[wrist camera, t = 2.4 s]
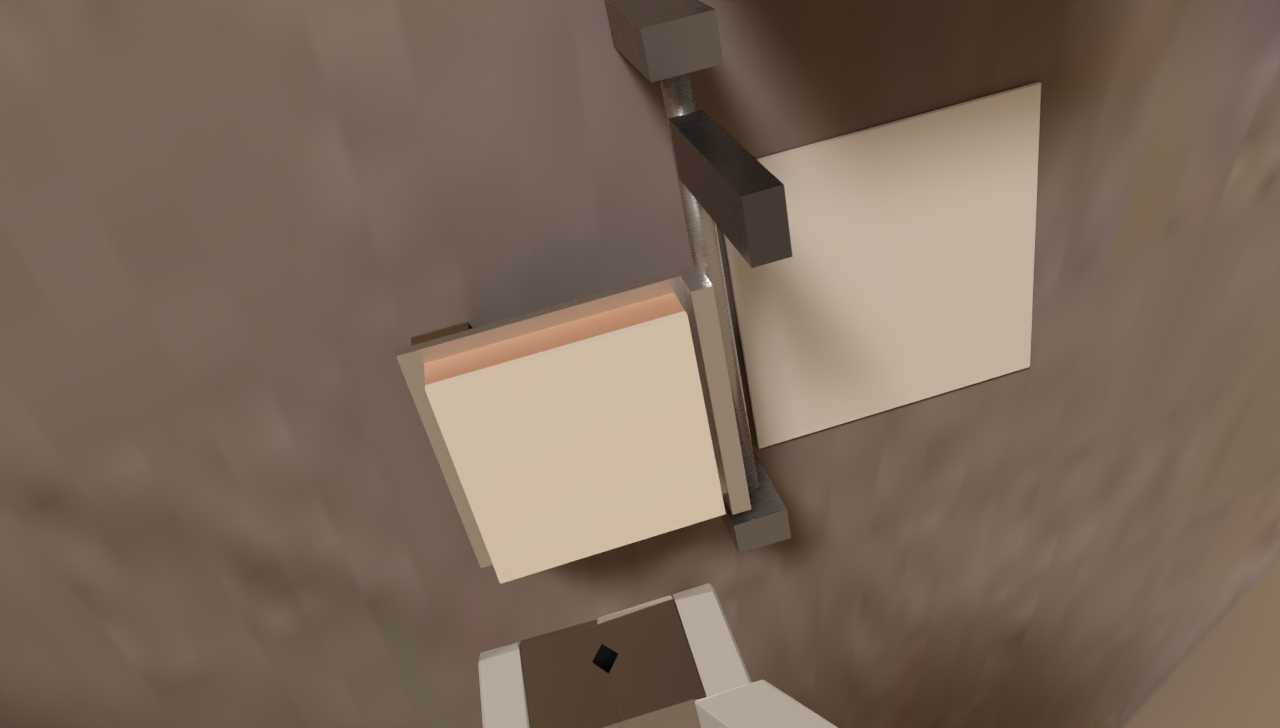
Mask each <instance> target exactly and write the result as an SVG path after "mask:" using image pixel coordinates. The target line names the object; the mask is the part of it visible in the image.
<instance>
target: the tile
mask: <svg viewBox="0 0 1280 728" xmlns="http://www.w3.org/2000/svg"><path fill="white" fill-rule="evenodd" d="M424 374H425V391H426V394H427V397H428V399H429V402H430V404H431V407H432V409H433V412H434V415H435V417H436V420H437V422H438V425H439V427H440V430H441V433H442V435H443V438H444V440H445V443H446V445H447V448H448V450H449V453H450V456H451V458H452V461H453V463H454V466H455V468H456V471H457V474H458V476H459V479H460V481H461V484H462V486H463V489H464V492H465V494H466V497H467V499H468V502H469V504H470V507H471V510H472V512H473V515H474V517H475V520H476V522H477V525H478V528H479V530H480V533H481V535H482V538H483V540H484V543H485V546H486V548H487V551H488V553H489V556H490V558H491V561H492V564H493V566H494V569H495V571H496V574H497V576H498V579H499V582H500V584H501V583H504V582H507V581H511V580H514V579H517V578H520V577H524V576H527V575H530V574H533V573H537V572H540V571H543V570H546V569H550V568H553V567H556V566H559V565H563V564H566V563H569V562H572V561H575V560H579V559H582V558H585V557H588V556H592V555H595V554H598V553H601V552H605V551H608V550H611V549H614V548H618V547H621V546H624V545H627V544H631V543H634V542H637V541H640V540H644V539H647V538H650V537H653V536H657V535H660V534H663V533H666V532H670V531H673V530H676V529H679V528H682V527H686V526H689V525H692V524H695V523H699V522H702V521H705V520H708V519H712V518H715V517H718V516H721V515H725V514H726V512H725V507H724V502H723V497H722V491H721V486H720V481H719V476H718V471H717V465H716V460H715V455H714V450H713V445H712V439H711V434H710V429H709V424H708V419H707V413H706V408H705V403H704V398H703V393H702V387H701V382H700V377H699V372H698V367H697V361H696V356H695V351H694V346H693V341H692V335H691V330H690V325H689V320H688V315H687V313H686V312H685V310H684V308H683V307H682V305H681V303H680V302H679V300H678V298H677V297H676V295H675V293H671V294H667V295H664V296H660V297H657V298H653V299H650V300H646V301H642V302H639V303H635V304H632V305H628V306H625V307H621V308H618V309H614V310H611V311H607V312H604V313H600V314H597V315H593V316H590V317H586V318H583V319H579V320H576V321H572V322H569V323H565V324H562V325H558V326H555V327H551V328H548V329H544V330H541V331H537V332H534V333H530V334H527V335H523V336H519V337H516V338H512V339H509V340H505V341H502V342H498V343H495V344H491V345H488V346H484V347H481V348H477V349H474V350H470V351H467V352H463V353H460V354H456V355H453V356H449V357H446V358H442V359H439V360H435V361H432V362H428V363H425V364H424Z"/></svg>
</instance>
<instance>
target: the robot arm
mask: <svg viewBox="0 0 1280 728" xmlns="http://www.w3.org/2000/svg"><path fill="white" fill-rule="evenodd" d="M478 667H479V680H480V693H481V707H482V720H483V728H838V727H836V726H835V725H833V724H832V723H830V722H829V721H827V720H826V719H824V718H822V717H821V716H819V715H818V714H816V713H815V712H813V711H812V710H810V709H809V708H807V707H805V706H804V705H802V704H801V703H799V702H798V701H796V700H795V699H793V698H792V697H790V696H788V695H787V694H785V693H784V692H782V691H781V690H779V689H778V688H776V687H774V686H773V685H771V684H770V683H768V682H767V681H765V680H764V679H763V680H759V681H756V682H751V679H750V677H749V674H748V672H747V669H746V667H745V664H744V662H743V659H742V657H741V654H740V652H739V649H738V647H737V644H736V642H735V639H734V637H733V634H732V632H731V629H730V627H729V624H728V622H727V619H726V617H725V614H724V612H723V609H722V607H721V604H720V602H719V599H718V597H717V594H716V592H715V589H714V588H713V587H712V586H711V585H710V584H709V583H708V584H705V585H702V586H698V587H695V588H692V589H689V590H686V591H683V592H679V593H676V594H673V595H672V597H671V595H669V596H666V597H663V598H660V599H657V600H654V601H651V602H647V603H644V604H641V605H638V606H635V607H632V608H629V609H625V610H622V611H619V612H616V613H613V614H610V615H607V616H603V617H600V618H597V620H593V621H590V622H586V623H582V624H579V625H575V626H572V627H568V628H565V629H561V630H557V631H554V632H550V633H547V634H543V635H540V636H536V637H532V638H529V639H525V640H522V641H520V642H517V643H514V644H510V645H507V646H503V647H499V648H496V649H492V650H489V651H485V652H482V653H480V658H479V664H478Z"/></svg>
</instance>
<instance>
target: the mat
mask: <svg viewBox="0 0 1280 728" xmlns="http://www.w3.org/2000/svg"><path fill="white" fill-rule="evenodd" d="M1040 101H1041V83H1039V82H1036V83H1033V84H1029V85H1025V86H1022V87H1018V88H1014V89H1011V90H1007V91H1003V92H1000V93H996V94H992V95H989V96H985V97H981V98H978V99H974V100H970V101H967V102H963V103H959V104H956V105H952V106H948V107H945V108H941V109H937V110H934V111H930V112H927V113H923V114H919V115H916V116H912V117H908V118H905V119H901V120H897V121H894V122H890V123H886V124H883V125H879V126H875V127H872V128H868V129H864V130H861V131H857V132H853V133H850V134H846V135H842V136H839V137H835V138H831V139H828V140H824V141H820V142H817V143H813V144H809V145H806V146H802V147H798V148H795V149H791V150H787V151H784V152H780V153H776V154H773V155H769V156H766V157H762V158H758V159H756V160H758V161H759V162H760V163H761V164H762V165H763V166H764V167H765V168H766V169H767V170H769V171H770V172H771V173H772V174H773V175H774V176H775V177H776V178H777V179H778V180H780V181H781V182H782V183H783V184H784V189H785V197H786V206H787V214H788V223H789V231H790V240H791V249H792V257H789V258H786V259H782V260H779V261H775V262H772V263H768V264H765V265H761V266H758V267H754V268H751V267H750V265H749V264H748V263H747V262H746V260H745V259H744V258H743V257H742V255H741V254H740V253H739V252H738V251H737V249H736V248H735V247H734V246H733V244H732V243H731V242H730V241H729V239H728V238H727V237H726V236H725V234H724V239H725V245H726V251H727V258H728V264H729V270H730V276H731V283H732V289H733V295H734V301H735V308H736V314H737V320H738V327H739V333H740V339H741V345H742V352H743V358H744V364H745V371H746V377H747V383H748V389H749V396H750V402H751V408H752V415H753V421H754V427H755V433H756V440H757V446H758V448H759V449H760V448H764V447H767V446H770V445H774V444H777V443H780V442H784V441H787V440H790V439H793V438H797V437H800V436H803V435H807V434H810V433H813V432H817V431H820V430H823V429H826V428H830V427H833V426H836V425H840V424H843V423H846V422H850V421H853V420H856V419H859V418H863V417H866V416H869V415H873V414H876V413H879V412H883V411H886V410H889V409H892V408H896V407H899V406H902V405H906V404H909V403H912V402H916V401H919V400H922V399H925V398H929V397H932V396H935V395H939V394H942V393H945V392H949V391H952V390H955V389H958V388H962V387H965V386H968V385H972V384H975V383H978V382H982V381H985V380H988V379H991V378H995V377H998V376H1001V375H1005V374H1008V373H1011V372H1015V371H1018V370H1021V369H1024V368H1028V367H1030V351H1031V326H1032V301H1033V276H1034V251H1035V226H1036V201H1037V176H1038V151H1039V126H1040Z"/></svg>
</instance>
